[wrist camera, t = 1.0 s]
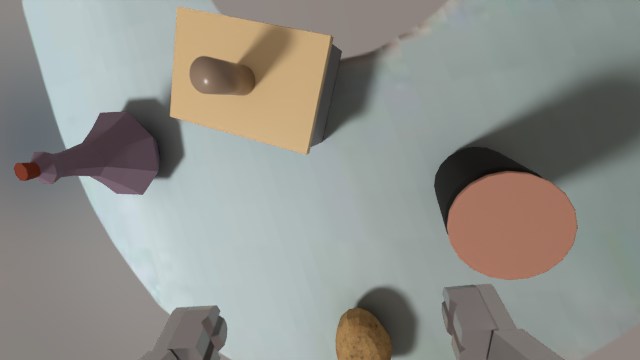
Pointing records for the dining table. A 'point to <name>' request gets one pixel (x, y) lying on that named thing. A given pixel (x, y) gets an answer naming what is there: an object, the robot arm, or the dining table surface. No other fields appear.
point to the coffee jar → (503, 215)
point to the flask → (103, 157)
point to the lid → (248, 77)
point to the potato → (362, 337)
